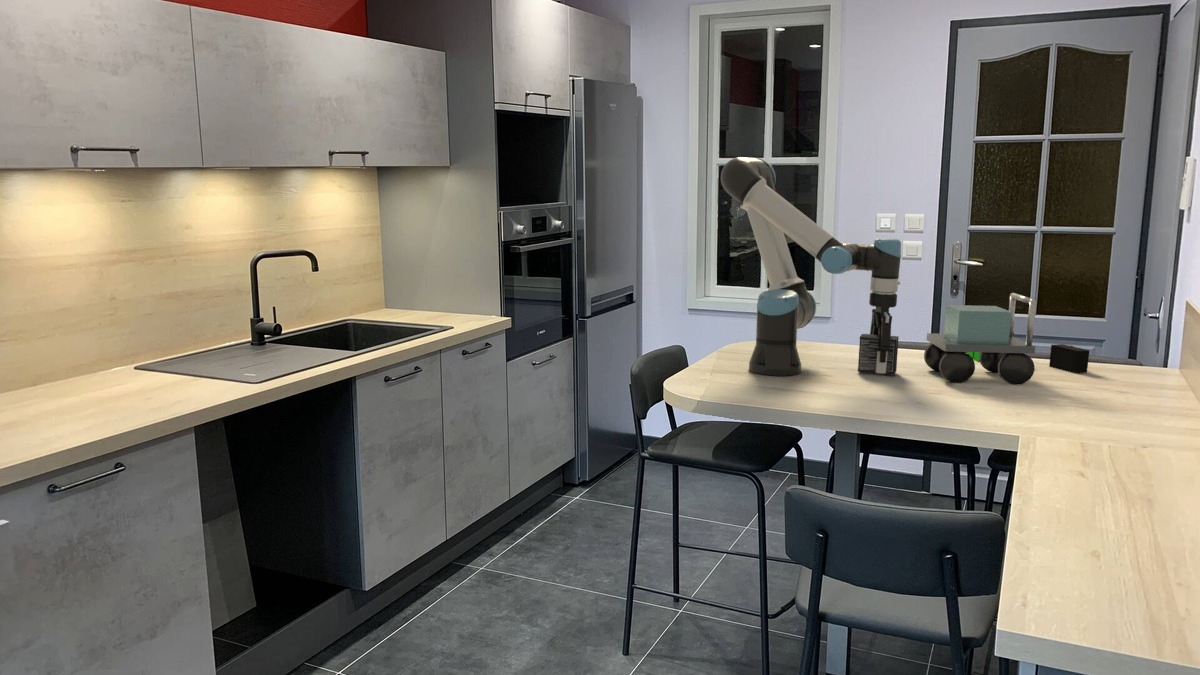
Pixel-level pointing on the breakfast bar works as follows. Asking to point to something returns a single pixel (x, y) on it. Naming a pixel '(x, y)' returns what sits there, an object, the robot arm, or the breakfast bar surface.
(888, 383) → the breakfast bar surface
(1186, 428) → the breakfast bar surface
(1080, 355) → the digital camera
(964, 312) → the trolley
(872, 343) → the small box
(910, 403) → the breakfast bar surface
